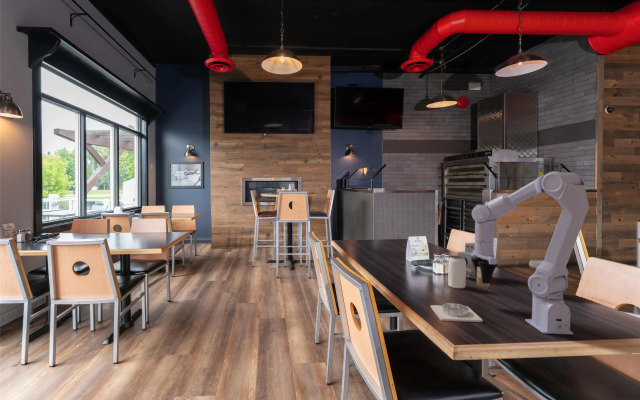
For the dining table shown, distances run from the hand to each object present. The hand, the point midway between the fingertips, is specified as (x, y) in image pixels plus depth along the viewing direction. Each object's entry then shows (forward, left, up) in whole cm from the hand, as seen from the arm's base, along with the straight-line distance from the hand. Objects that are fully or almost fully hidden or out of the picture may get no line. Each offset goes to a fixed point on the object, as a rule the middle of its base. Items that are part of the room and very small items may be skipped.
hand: (483, 281), depth 116 cm
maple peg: (0, 0, -1) cm, 1 cm away
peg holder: (-9, +12, -8) cm, 17 cm away
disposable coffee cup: (+17, -29, -8) cm, 35 cm away
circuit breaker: (+38, -11, -8) cm, 40 cm away
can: (+23, +1, -8) cm, 25 cm away
